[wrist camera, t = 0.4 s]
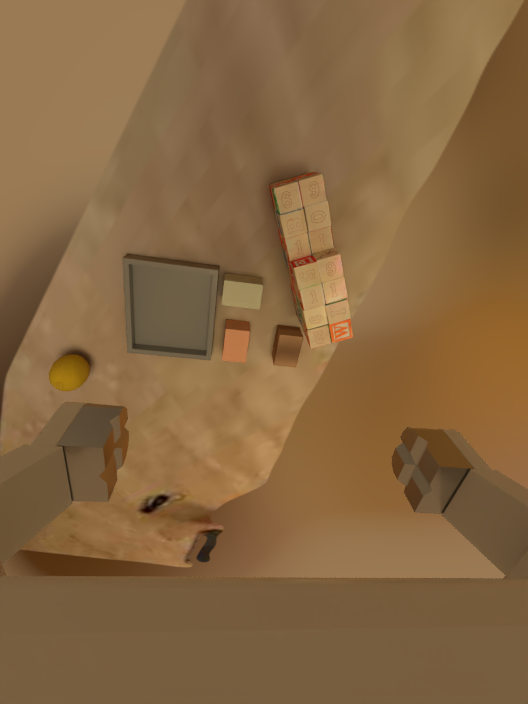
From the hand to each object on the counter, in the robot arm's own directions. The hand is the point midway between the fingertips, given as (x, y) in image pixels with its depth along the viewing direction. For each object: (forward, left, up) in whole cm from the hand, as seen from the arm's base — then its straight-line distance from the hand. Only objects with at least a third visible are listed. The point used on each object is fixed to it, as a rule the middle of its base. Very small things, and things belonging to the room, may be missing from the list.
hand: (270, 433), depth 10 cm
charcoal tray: (+15, -10, -46) cm, 49 cm away
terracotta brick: (+19, +1, -46) cm, 50 cm away
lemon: (+27, -26, -46) cm, 59 cm away
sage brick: (+10, +1, -46) cm, 47 cm away
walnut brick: (+19, +10, -46) cm, 51 cm away
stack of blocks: (+3, +10, -46) cm, 47 cm away
